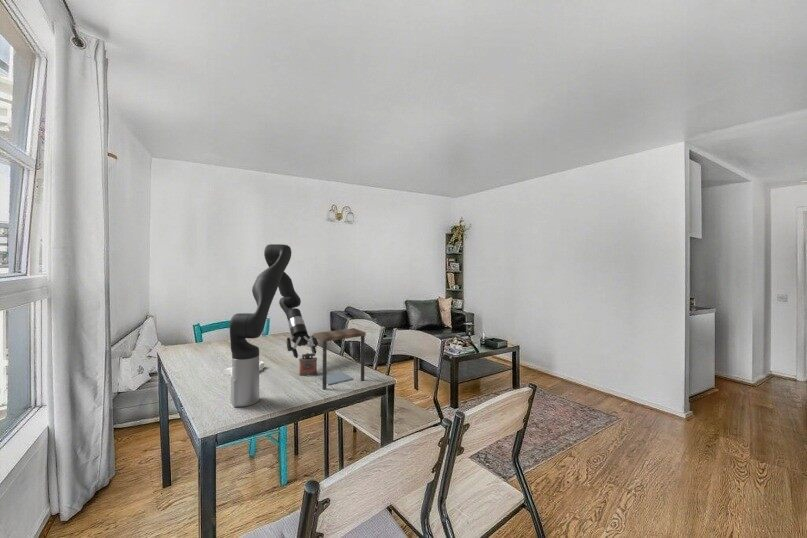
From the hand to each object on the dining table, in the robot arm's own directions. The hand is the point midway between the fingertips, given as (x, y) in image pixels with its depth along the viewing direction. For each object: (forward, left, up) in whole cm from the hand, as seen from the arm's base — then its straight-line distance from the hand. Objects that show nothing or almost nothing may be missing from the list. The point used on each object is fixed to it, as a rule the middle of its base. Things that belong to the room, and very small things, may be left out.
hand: (305, 355), depth 159 cm
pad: (+8, -15, -8) cm, 19 cm away
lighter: (0, -3, -8) cm, 9 cm away
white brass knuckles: (-23, +17, -9) cm, 30 cm away
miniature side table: (+8, -19, -8) cm, 22 cm away
